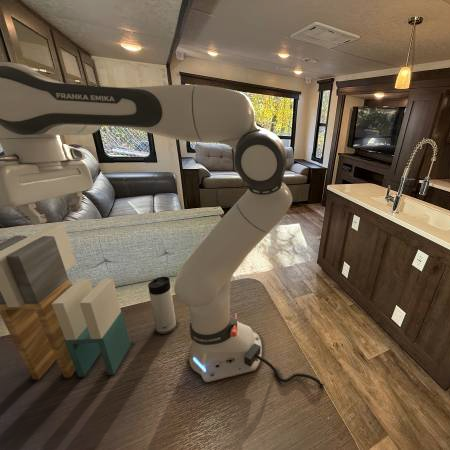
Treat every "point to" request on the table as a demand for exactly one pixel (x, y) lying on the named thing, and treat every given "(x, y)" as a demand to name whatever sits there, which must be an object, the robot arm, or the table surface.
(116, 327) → the cream teal blocky piece
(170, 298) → the travel mug
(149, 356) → the table surface
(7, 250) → the white book
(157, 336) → the table surface
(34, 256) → the book stand
